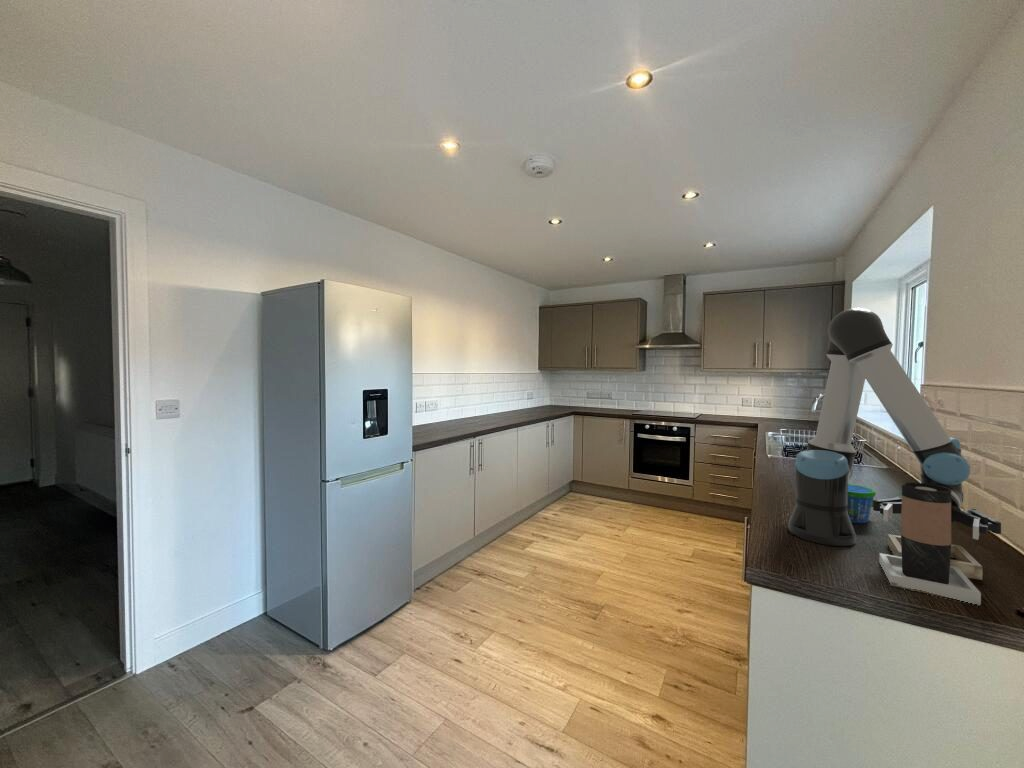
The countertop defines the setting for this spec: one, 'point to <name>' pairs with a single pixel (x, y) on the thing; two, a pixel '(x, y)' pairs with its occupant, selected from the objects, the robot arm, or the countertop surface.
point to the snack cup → (859, 503)
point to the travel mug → (926, 532)
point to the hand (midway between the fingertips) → (927, 523)
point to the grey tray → (955, 589)
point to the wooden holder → (963, 559)
